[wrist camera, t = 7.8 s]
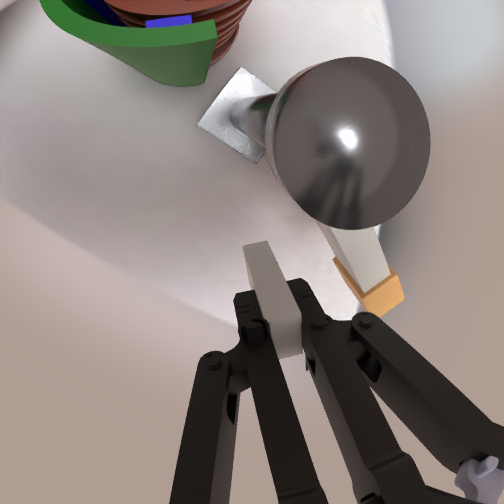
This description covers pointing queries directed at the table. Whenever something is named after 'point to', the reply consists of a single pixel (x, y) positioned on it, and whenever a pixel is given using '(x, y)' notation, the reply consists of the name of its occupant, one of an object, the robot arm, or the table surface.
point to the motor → (155, 32)
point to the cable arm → (364, 268)
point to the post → (331, 137)
